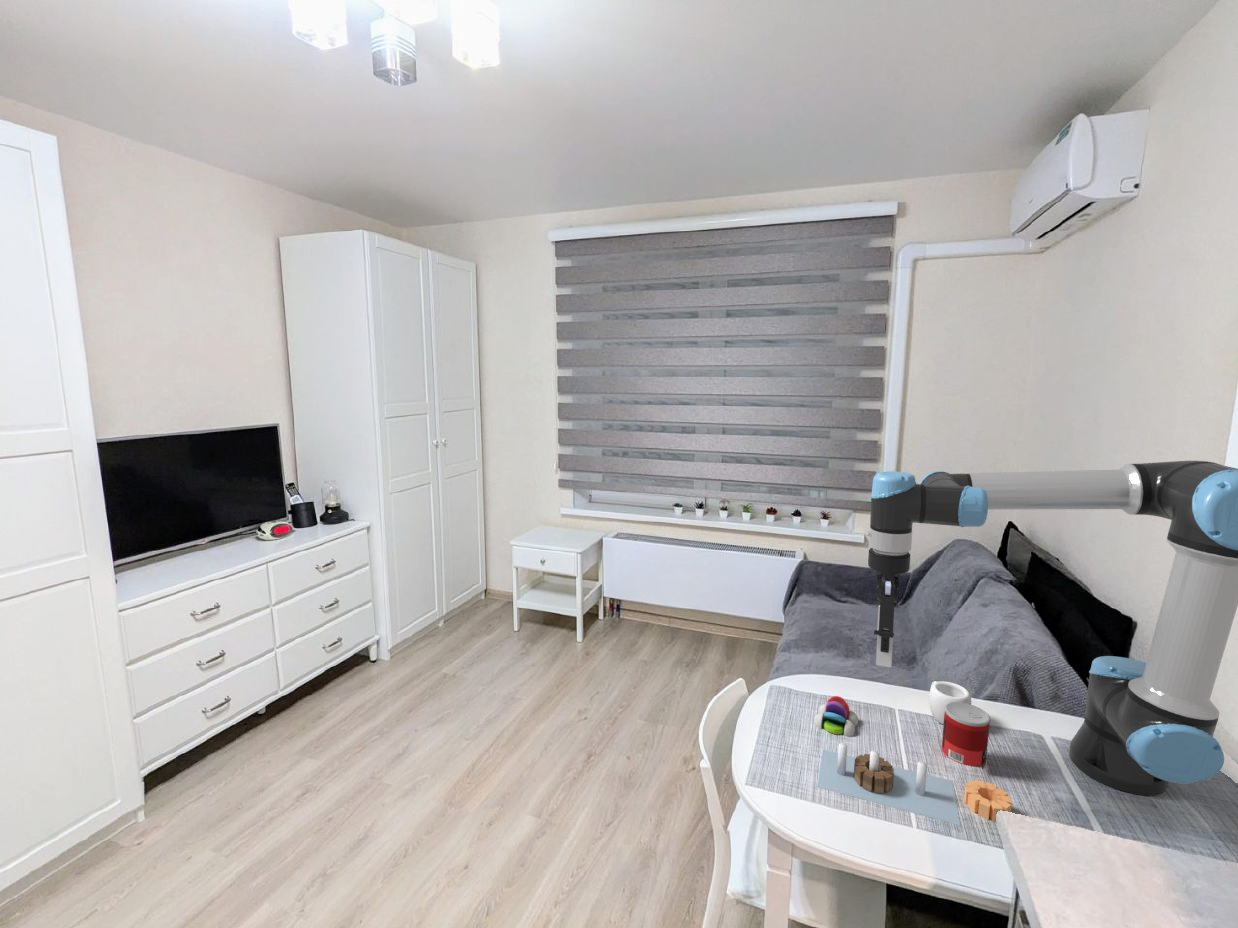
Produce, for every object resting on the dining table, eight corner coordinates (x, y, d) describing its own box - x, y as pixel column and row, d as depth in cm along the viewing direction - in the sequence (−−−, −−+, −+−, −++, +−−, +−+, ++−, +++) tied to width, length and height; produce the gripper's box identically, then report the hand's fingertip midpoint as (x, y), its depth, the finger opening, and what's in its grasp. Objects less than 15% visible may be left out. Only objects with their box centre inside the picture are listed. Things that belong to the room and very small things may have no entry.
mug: (977, 731, 129) (980, 699, 127) (940, 731, 129) (942, 699, 127) (947, 700, 141) (950, 671, 139) (913, 701, 141) (915, 671, 139)
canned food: (991, 775, 115) (996, 725, 113) (948, 770, 117) (952, 721, 115) (976, 750, 122) (981, 703, 121) (935, 746, 124) (939, 699, 122)
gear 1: (892, 772, 114) (893, 759, 113) (893, 797, 107) (894, 783, 107) (854, 763, 116) (855, 750, 116) (853, 786, 110) (853, 772, 110)
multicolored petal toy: (859, 723, 132) (861, 694, 131) (851, 747, 124) (852, 716, 123) (821, 712, 137) (823, 684, 136) (811, 734, 129) (812, 704, 128)
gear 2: (1004, 805, 107) (1006, 786, 106) (1012, 833, 101) (1015, 813, 100) (961, 794, 110) (963, 776, 109) (966, 821, 103) (968, 801, 103)
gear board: (952, 787, 112) (955, 753, 110) (959, 832, 101) (963, 795, 100) (822, 755, 121) (824, 723, 120) (817, 793, 111) (818, 758, 109)
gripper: (870, 531, 126) (865, 622, 129) (866, 567, 103) (861, 675, 107) (908, 534, 123) (902, 627, 126) (913, 572, 100) (906, 684, 104)
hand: (883, 649), depth 116 cm, fingers open, 13 cm apart
